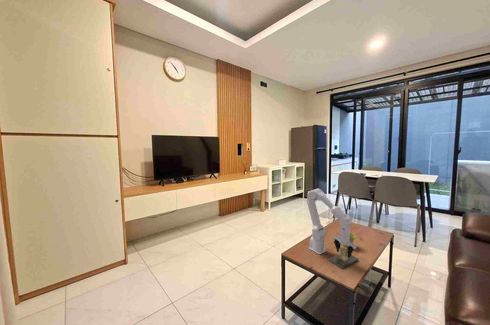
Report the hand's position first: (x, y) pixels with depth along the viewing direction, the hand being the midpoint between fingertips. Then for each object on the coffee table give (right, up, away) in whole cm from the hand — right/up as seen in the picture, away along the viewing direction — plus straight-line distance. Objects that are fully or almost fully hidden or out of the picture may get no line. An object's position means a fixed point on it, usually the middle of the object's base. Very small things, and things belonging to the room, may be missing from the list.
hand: (343, 254), depth 134 cm
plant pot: (+12, -3, +20) cm, 23 cm away
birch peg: (0, -5, 0) cm, 5 cm away
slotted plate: (0, -5, 0) cm, 5 cm away
